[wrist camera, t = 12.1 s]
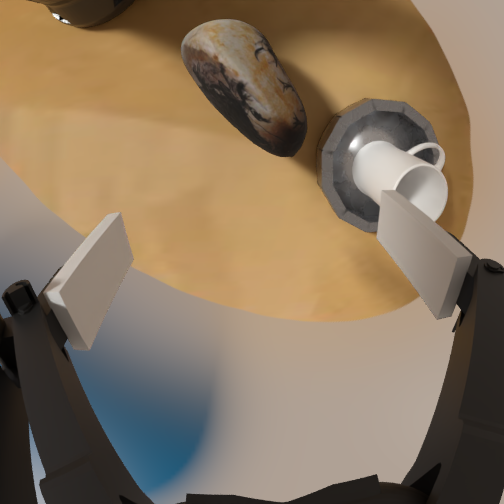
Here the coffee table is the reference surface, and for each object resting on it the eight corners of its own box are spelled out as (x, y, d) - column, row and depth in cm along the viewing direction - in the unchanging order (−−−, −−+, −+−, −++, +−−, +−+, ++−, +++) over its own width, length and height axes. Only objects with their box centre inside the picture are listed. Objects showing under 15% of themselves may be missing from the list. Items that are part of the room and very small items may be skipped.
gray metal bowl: (314, 96, 35) (320, 96, 32) (432, 105, 35) (444, 108, 32) (315, 226, 44) (320, 235, 42) (422, 219, 44) (431, 227, 42)
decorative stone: (177, 60, 32) (143, 43, 19) (233, 20, 29) (230, -20, 16) (261, 158, 39) (274, 194, 26) (315, 120, 37) (356, 137, 24)
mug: (399, 116, 35) (449, 129, 25) (426, 161, 39) (474, 187, 28) (340, 165, 39) (375, 194, 29) (372, 207, 42) (409, 246, 32)
